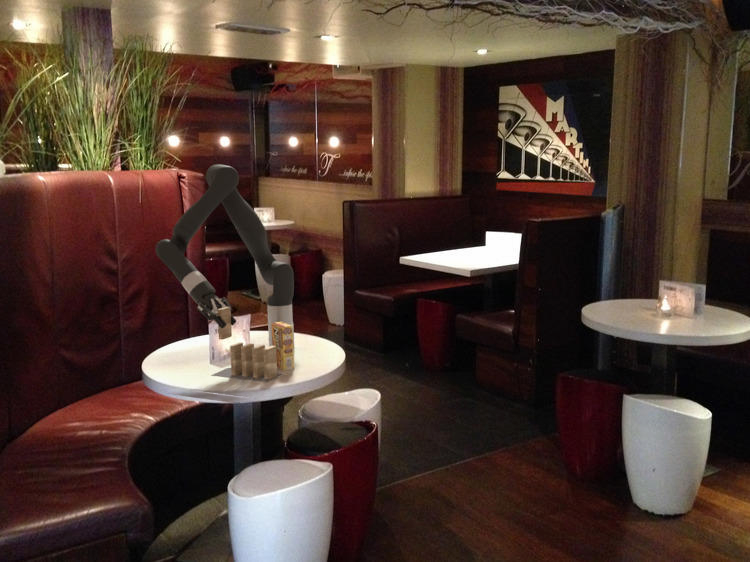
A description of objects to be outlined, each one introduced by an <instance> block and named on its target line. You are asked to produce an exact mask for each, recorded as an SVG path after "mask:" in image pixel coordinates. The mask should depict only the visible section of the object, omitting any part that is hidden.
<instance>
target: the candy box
mask: <svg viewBox="0 0 750 562" xmlns="http://www.w3.org/2000/svg"><path fill="white" fill-rule="evenodd" d="M271 327H272V346H276V357H277V368H279V369H281V370H283V371H288V370H294V369H295V354H294V352H295V351H294V347H293V329H292V325H289V324H286V323H284V322H275V323H271Z"/></svg>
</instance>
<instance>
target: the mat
mask: <svg viewBox="0 0 750 562" xmlns="http://www.w3.org/2000/svg"><path fill="white" fill-rule="evenodd" d="M283 375H284V373H278V372H277V376H276V377H274V378H272V379H270V380H266V379H265V375H264V376H262V377H260V378H253V374H252V375H250V376H248V377H242V373H241V374H238V375H236V376H233V375H232V374H231V367H227V368H224V369H222V370H220V371H218V372H215V373H213V374H211V375H210V376H212V377H220V378H229V379H237V380H243V381H253V382H262V383H269V382H271V381H273V380H275V379H278V378H279V377H281V376H283Z"/></svg>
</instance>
